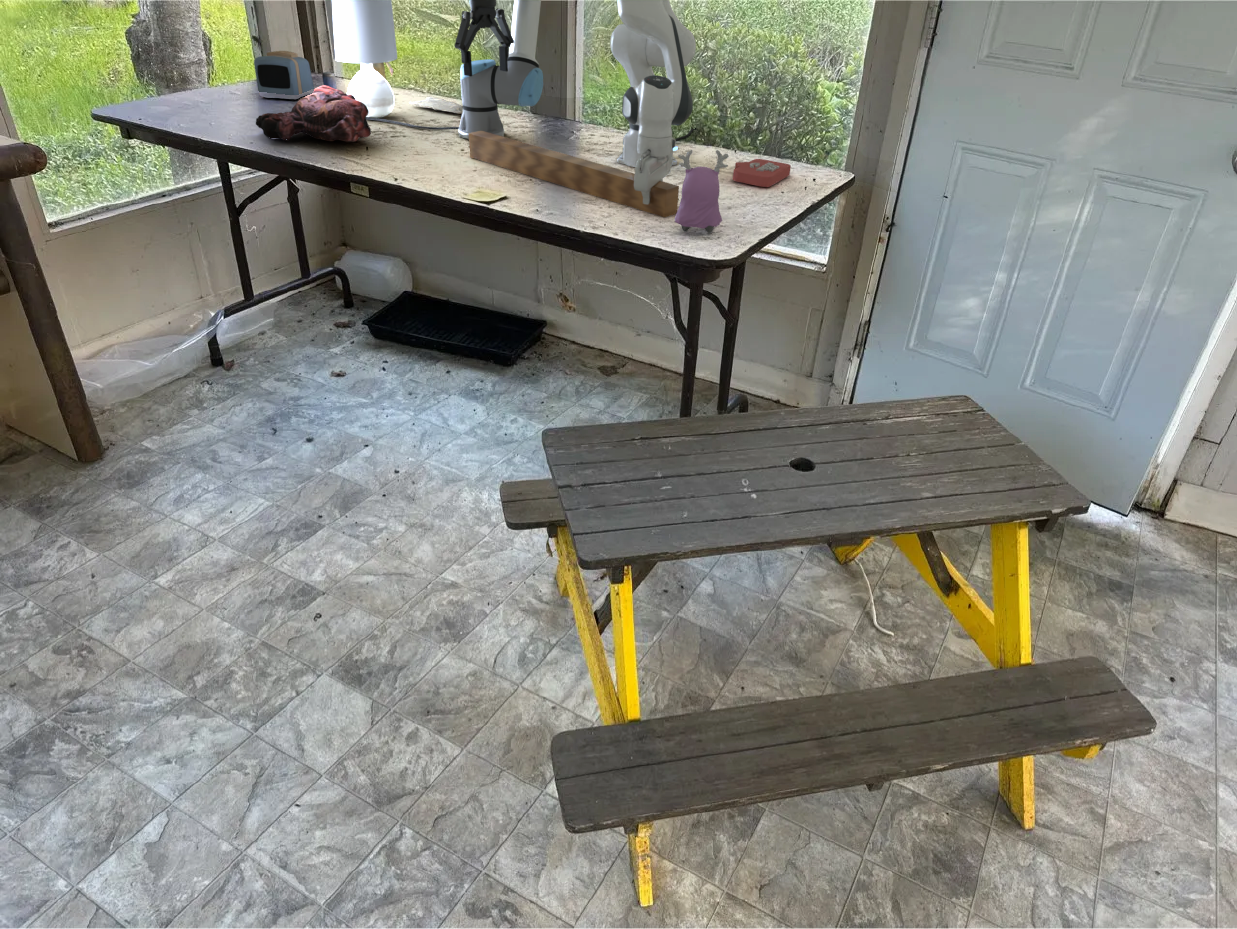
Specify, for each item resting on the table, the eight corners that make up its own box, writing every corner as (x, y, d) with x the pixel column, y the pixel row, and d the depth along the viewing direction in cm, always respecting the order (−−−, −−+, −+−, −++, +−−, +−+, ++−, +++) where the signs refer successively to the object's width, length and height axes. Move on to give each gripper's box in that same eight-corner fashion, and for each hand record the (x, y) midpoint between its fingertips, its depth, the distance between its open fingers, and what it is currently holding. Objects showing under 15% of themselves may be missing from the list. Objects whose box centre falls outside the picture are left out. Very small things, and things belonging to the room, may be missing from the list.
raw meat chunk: (388, 148, 274) (381, 105, 266) (300, 168, 259) (290, 124, 251) (331, 115, 299) (323, 75, 291) (247, 132, 285) (236, 91, 276)
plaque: (748, 154, 263) (793, 162, 256) (746, 167, 265) (791, 175, 258) (722, 166, 250) (769, 175, 244) (721, 179, 252) (767, 189, 246)
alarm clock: (257, 98, 324) (248, 53, 316) (278, 90, 338) (270, 46, 329) (297, 101, 323) (289, 55, 314) (317, 93, 336) (310, 49, 327)
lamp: (416, 115, 310) (403, -11, 287) (372, 125, 294) (355, -7, 272) (373, 106, 319) (358, -16, 296) (328, 116, 304) (309, -13, 281)
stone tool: (407, 106, 321) (455, 116, 310) (406, 98, 320) (455, 108, 308) (428, 102, 329) (476, 112, 317) (427, 94, 327) (475, 104, 316)
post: (470, 157, 265) (468, 133, 261) (482, 154, 268) (481, 130, 264) (664, 217, 222) (666, 189, 218) (677, 213, 225) (679, 185, 221)
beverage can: (339, 109, 314) (334, 74, 307) (318, 108, 314) (312, 73, 307) (346, 104, 321) (341, 69, 314) (325, 103, 321) (320, 69, 314)
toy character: (721, 226, 217) (729, 145, 206) (721, 240, 208) (729, 156, 197) (673, 223, 218) (679, 142, 207) (671, 236, 209) (677, 153, 198)
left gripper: (455, -7, 227) (461, 79, 239) (524, -11, 243) (526, 70, 254) (437, -9, 231) (444, 75, 243) (506, -13, 247) (509, 67, 258)
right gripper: (652, 156, 209) (649, 212, 217) (677, 138, 225) (674, 191, 233) (628, 153, 211) (626, 208, 219) (655, 135, 227) (652, 187, 235)
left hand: (486, 73), depth 249 cm, fingers open, 13 cm apart
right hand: (651, 199), depth 226 cm, fingers closed on post, 6 cm apart
